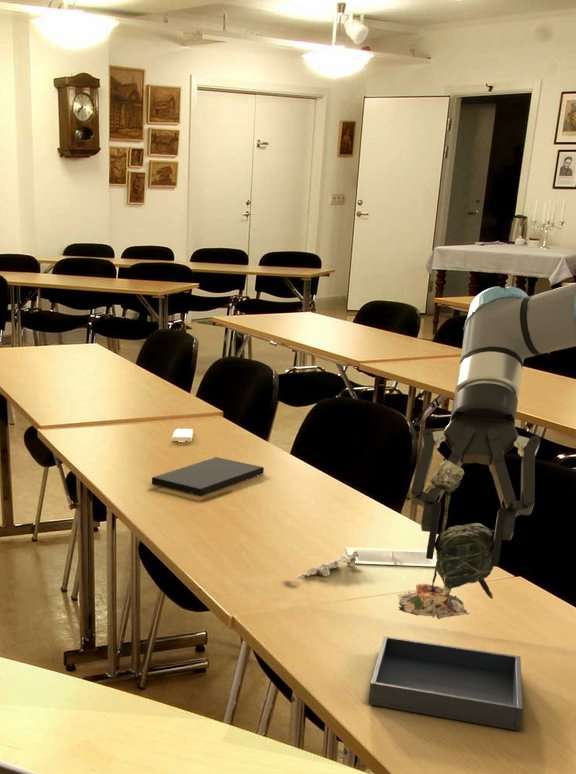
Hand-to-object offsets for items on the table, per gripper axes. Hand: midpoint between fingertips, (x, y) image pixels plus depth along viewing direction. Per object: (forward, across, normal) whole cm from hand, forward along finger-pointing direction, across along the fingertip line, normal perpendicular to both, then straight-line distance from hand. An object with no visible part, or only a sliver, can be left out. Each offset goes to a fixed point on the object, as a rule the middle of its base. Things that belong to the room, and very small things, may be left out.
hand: (462, 557), depth 109 cm
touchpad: (-21, +11, -49) cm, 54 cm away
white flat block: (-67, +70, -94) cm, 136 cm away
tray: (+12, 0, -16) cm, 19 cm away
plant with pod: (+4, +1, -9) cm, 9 cm away
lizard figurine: (-13, +21, -40) cm, 47 cm away
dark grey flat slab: (-48, +55, -76) cm, 105 cm away
